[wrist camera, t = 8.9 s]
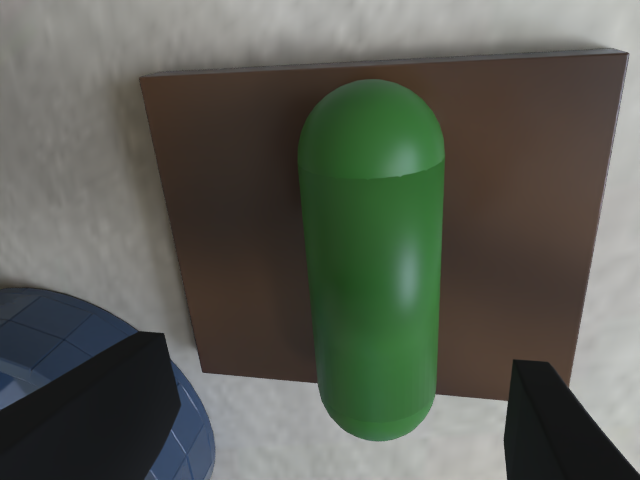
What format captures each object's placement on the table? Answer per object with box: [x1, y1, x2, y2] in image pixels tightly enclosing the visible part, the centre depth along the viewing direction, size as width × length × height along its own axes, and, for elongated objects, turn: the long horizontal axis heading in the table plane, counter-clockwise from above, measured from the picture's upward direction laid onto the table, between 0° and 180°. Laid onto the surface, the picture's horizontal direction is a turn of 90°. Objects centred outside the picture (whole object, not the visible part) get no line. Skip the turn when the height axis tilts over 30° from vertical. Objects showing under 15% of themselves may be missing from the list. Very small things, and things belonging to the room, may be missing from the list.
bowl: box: [0, 288, 215, 480], centre depth 22 cm, size 14×14×4 cm
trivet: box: [139, 48, 629, 401], centre depth 16 cm, size 11×13×1 cm
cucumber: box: [298, 79, 445, 441], centre depth 14 cm, size 11×4×4 cm, turn 4°
